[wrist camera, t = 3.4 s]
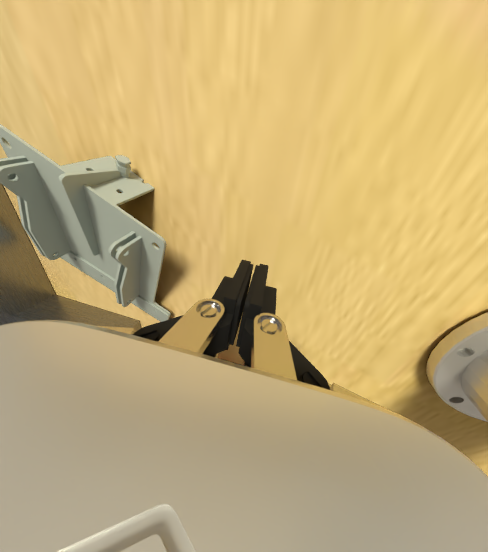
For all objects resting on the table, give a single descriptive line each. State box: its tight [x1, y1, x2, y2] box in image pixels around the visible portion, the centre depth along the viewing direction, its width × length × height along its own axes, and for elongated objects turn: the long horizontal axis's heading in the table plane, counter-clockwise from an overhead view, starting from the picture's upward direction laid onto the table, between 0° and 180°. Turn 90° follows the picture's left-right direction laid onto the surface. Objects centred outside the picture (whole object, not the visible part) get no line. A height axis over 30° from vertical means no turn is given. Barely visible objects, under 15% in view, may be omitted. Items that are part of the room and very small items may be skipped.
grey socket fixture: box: [0, 183, 141, 331], centre depth 16 cm, size 16×25×6 cm, turn 170°
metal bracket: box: [0, 124, 171, 322], centre depth 15 cm, size 14×6×15 cm
